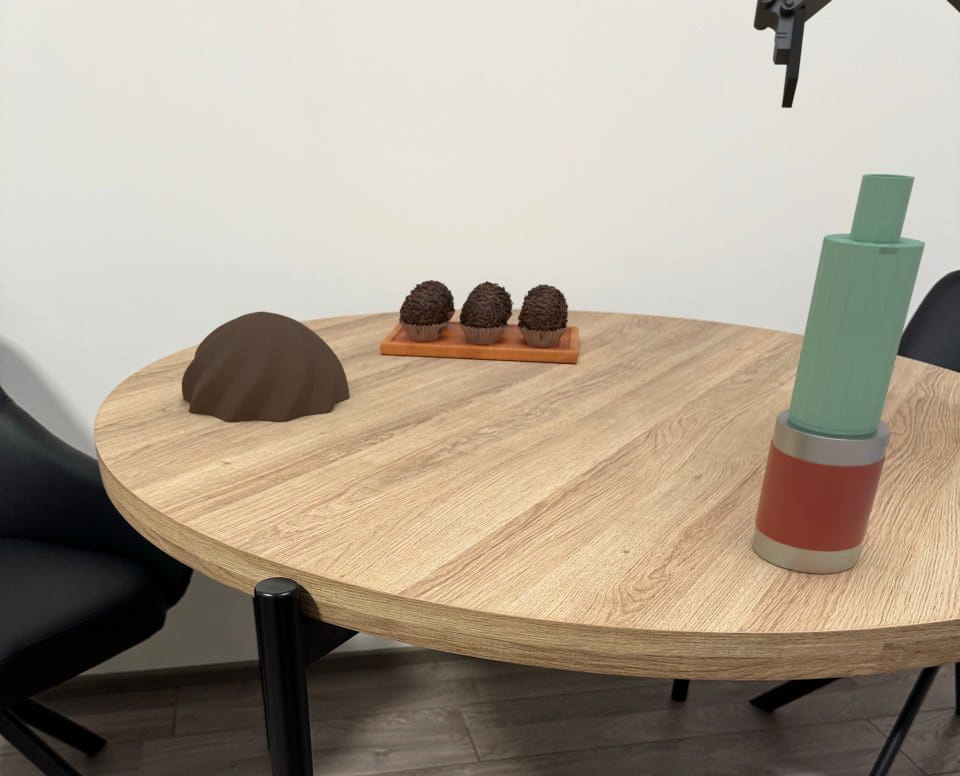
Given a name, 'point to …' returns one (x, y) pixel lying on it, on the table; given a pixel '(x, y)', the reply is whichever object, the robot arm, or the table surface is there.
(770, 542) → the can
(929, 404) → the table surface
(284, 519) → the table surface
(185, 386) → the decorative dome
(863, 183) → the bottle
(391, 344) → the chocolate truffle
